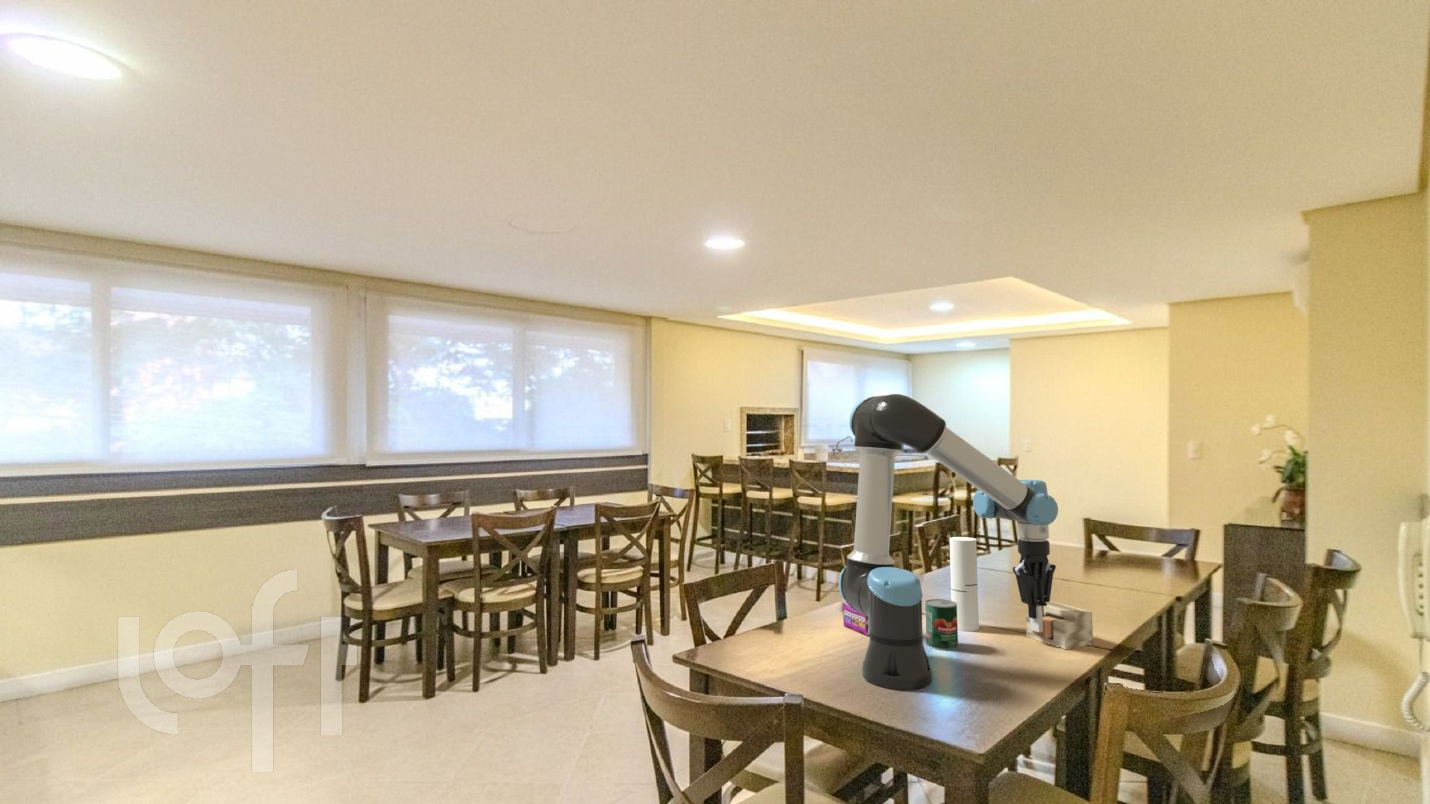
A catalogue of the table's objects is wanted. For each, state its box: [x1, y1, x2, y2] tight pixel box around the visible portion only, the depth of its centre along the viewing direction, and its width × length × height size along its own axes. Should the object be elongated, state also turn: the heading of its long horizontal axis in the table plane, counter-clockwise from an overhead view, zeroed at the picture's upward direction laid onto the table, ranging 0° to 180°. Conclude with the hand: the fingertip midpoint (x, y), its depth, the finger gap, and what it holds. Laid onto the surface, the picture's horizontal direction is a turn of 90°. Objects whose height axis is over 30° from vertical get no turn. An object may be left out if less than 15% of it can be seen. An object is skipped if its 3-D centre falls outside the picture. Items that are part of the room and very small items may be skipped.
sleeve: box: [1025, 601, 1094, 650], centre depth 172 cm, size 10×12×8 cm
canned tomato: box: [924, 598, 959, 651], centre depth 169 cm, size 8×8×11 cm
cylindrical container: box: [949, 536, 980, 632], centre depth 185 cm, size 7×7×25 cm
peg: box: [1032, 616, 1060, 638], centre depth 172 cm, size 10×4×4 cm, turn 112°
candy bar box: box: [842, 598, 870, 636], centre depth 184 cm, size 11×5×16 cm, turn 25°
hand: (1036, 630), depth 170 cm, fingers closed
